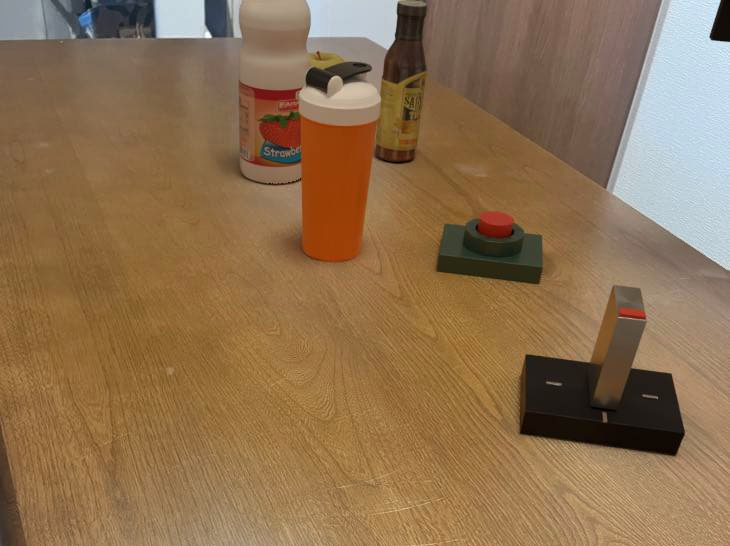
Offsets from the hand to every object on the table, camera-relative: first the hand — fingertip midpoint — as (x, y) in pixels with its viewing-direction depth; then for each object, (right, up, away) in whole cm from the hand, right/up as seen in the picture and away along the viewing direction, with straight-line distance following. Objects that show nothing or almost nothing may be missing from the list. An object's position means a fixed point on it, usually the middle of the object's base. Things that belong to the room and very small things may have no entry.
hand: (723, 39), depth 91 cm
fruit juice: (-49, -1, +32) cm, 58 cm away
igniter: (-22, -19, +14) cm, 32 cm away
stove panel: (-16, -40, -9) cm, 44 cm away
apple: (-43, +20, +55) cm, 72 cm away
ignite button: (-22, -16, +12) cm, 29 cm away
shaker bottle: (-41, -17, +14) cm, 47 cm away
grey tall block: (-16, -39, -10) cm, 43 cm away
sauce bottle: (-31, +5, +39) cm, 50 cm away
